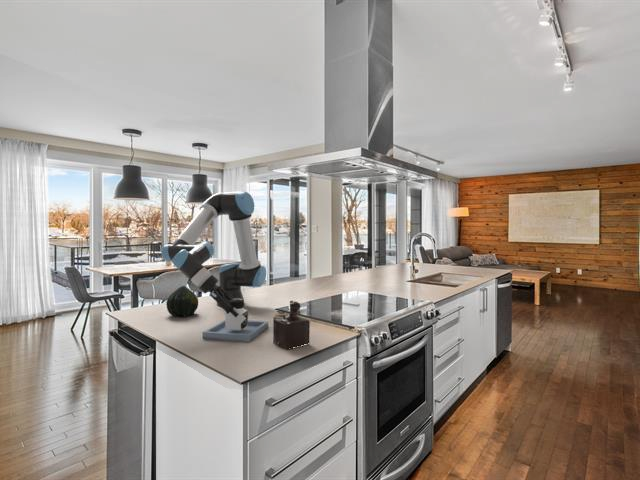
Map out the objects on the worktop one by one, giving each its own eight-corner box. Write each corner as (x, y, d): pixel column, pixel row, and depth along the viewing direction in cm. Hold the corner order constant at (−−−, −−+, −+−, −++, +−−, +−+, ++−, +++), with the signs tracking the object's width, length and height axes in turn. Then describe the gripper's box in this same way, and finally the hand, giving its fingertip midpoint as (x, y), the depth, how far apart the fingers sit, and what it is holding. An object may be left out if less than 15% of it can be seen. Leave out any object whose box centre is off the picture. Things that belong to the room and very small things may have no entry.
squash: (176, 309, 170) (192, 283, 179) (155, 307, 178) (171, 281, 186) (194, 324, 180) (209, 298, 188) (174, 321, 187) (189, 296, 195)
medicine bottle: (241, 331, 148) (241, 302, 148) (225, 329, 150) (224, 301, 149) (248, 325, 155) (247, 298, 155) (232, 324, 157) (232, 297, 156)
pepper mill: (270, 343, 139) (270, 296, 139) (295, 337, 146) (294, 293, 145) (293, 354, 127) (293, 303, 126) (318, 348, 134) (318, 299, 133)
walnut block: (275, 324, 165) (275, 313, 165) (288, 325, 165) (288, 313, 165) (273, 328, 159) (273, 317, 159) (287, 328, 159) (287, 317, 159)
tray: (226, 324, 164) (226, 319, 164) (268, 327, 160) (268, 321, 160) (202, 338, 145) (202, 332, 145) (249, 342, 141) (249, 335, 140)
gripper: (203, 283, 161) (241, 317, 163) (192, 292, 139) (235, 332, 142) (216, 270, 161) (252, 305, 164) (206, 278, 140) (248, 318, 142)
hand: (244, 317), depth 153 cm, fingers open, 9 cm apart
